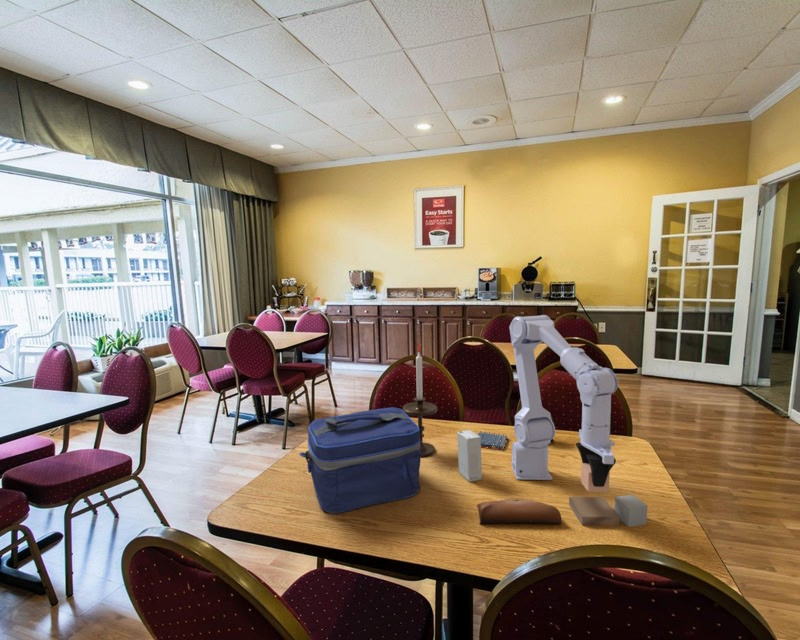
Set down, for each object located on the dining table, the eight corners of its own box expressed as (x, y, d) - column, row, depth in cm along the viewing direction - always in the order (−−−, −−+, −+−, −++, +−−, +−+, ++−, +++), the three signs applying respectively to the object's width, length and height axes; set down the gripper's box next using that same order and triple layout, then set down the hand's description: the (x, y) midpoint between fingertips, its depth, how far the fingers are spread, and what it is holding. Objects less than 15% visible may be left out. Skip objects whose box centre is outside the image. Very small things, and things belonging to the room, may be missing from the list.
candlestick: (442, 447, 132) (441, 340, 128) (429, 460, 123) (427, 346, 119) (412, 441, 137) (410, 339, 133) (397, 454, 128) (395, 344, 124)
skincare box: (482, 479, 111) (482, 436, 110) (468, 482, 109) (467, 439, 108) (471, 469, 117) (471, 428, 115) (457, 472, 115) (456, 431, 114)
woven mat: (471, 448, 132) (471, 442, 132) (478, 436, 142) (478, 430, 142) (503, 452, 128) (503, 446, 128) (508, 440, 138) (508, 434, 138)
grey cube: (628, 527, 89) (629, 507, 88) (614, 515, 93) (614, 497, 93) (646, 524, 90) (647, 505, 89) (631, 513, 94) (632, 494, 94)
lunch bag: (308, 523, 93) (304, 437, 91) (296, 481, 112) (292, 409, 110) (430, 493, 104) (429, 416, 102) (400, 460, 124) (398, 394, 122)
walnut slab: (581, 527, 90) (582, 516, 90) (568, 506, 98) (569, 496, 97) (619, 527, 89) (619, 517, 89) (603, 507, 97) (603, 497, 97)
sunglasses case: (549, 503, 98) (554, 488, 94) (557, 533, 93) (563, 519, 89) (474, 504, 99) (476, 489, 95) (478, 533, 93) (480, 518, 89)
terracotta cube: (588, 491, 91) (588, 472, 90) (580, 481, 95) (581, 463, 95) (608, 492, 90) (609, 472, 90) (600, 481, 95) (601, 463, 94)
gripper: (630, 435, 84) (627, 497, 85) (600, 411, 98) (599, 465, 99) (594, 434, 84) (592, 497, 86) (570, 411, 99) (569, 465, 100)
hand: (594, 480), depth 93 cm, fingers closed on terracotta cube, 4 cm apart
